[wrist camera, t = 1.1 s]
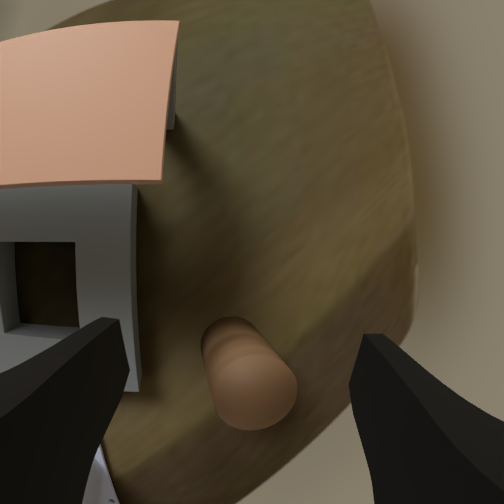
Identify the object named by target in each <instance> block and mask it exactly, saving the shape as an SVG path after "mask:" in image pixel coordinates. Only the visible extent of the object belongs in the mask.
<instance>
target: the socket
mask: <svg viewBox="0 0 504 504" xmlns="http://www.w3.org/2000/svg"><path fill="white" fill-rule="evenodd" d="M137 196H138V188H137V187H136V186H135V185H134V184H101V185H63V186H40V187H23V188H8V189H0V373H2V372H4V371H6V370H9V369H11V368H13V367H15V366H17V365H19V364H21V363H23V362H25V361H26V360H28V359H30V358H32V357H33V356H35V355H37V354H39V353H41V352H42V351H44V350H46V349H48V348H50V347H51V346H53V345H54V344H56V343H58V342H59V341H61V340H63V339H64V338H66V337H68V336H69V335H71V334H73V333H74V332H76V331H77V330H79V329H81V328H82V327H84V326H86V325H87V324H89V323H91V322H93V321H94V320H96V319H98V318H100V317H108V318H115V319H119V320H120V325H121V330H122V335H123V340H124V345H125V350H126V354H127V359H128V363H129V368H130V372H129V376H128V379H127V382H126V386H125V389H124V391H127V392H139V388H140V383H141V378H142V367H141V356H140V344H139V330H138V312H137V284H136V224H137ZM15 242H75V255H76V285H77V301H78V314H79V324H80V327H66V326H52V325H39V324H28V323H20V316H19V308H18V298H17V286H16V271H15Z"/></svg>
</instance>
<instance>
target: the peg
mask: <svg viewBox="0 0 504 504" xmlns="http://www.w3.org/2000/svg"><path fill="white" fill-rule="evenodd" d="M201 353H202V357H203V361H204V366H205V370H206V374H207V378H208V382H209V386H210V390H211V394H212V398H213V402H214V406H215V409H216V412H217V414H218V415H219V417H220V418H221V419H222V420H223V421H224V422H225V423H227V424H228V425H230V426H232V427H234V428H237V429H241V430H259V429H264V428H267V427H269V426H272V425H274V424H276V423H277V422H279V421H280V420H281V419H283V418H284V417H285V416H286V415H287V414H288V413H289V411H290V410H291V409H292V407H293V405H294V403H295V401H296V398H297V393H298V386H297V381H296V378H295V376H294V374H293V372H292V371H291V370H290V369H289V367H288V366H287V365H286V364H285V363H284V362H283V360H282V359H281V358H280V357H279V356H278V355H277V353H276V352H275V351H274V350H273V349H272V347H271V346H270V345H269V344H268V343H267V341H266V340H265V339H264V338H263V337H262V335H261V334H260V333H259V332H258V331H257V329H256V328H255V327H254V326H253V325H252V324H251V323H250V322H248V321H247V320H244V319H242V318H238V317H226V318H222V319H219V320H217V321H216V322H214V323H212V324H211V325H210V326H209V327H208V328H207V329H206V331H205V332H204V334H203V337H202V340H201Z"/></svg>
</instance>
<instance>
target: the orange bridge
mask: <svg viewBox="0 0 504 504" xmlns="http://www.w3.org/2000/svg"><path fill="white" fill-rule="evenodd" d="M178 31H179V21H124V22H110V23H98V24H89V25H81V26H73V27H67V28H60V29H55V30H49V31H44V32H39V33H34V34H30V35H26V36H21V37H17V38H13V39H9V40H6V41H2V42H0V189H8V188H23V187H40V186H63V185H101V184H162V183H163V166H164V151H165V139H166V130H174V121H175V100H176V68H177V47H178Z"/></svg>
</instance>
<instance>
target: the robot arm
mask: <svg viewBox="0 0 504 504" xmlns="http://www.w3.org/2000/svg"><path fill="white" fill-rule="evenodd" d="M129 372H130V368H129V363H128V359H127V354H126V350H125V345H124V340H123V335H122V330H121V325H120V320H119V319H115V318H108V317H100V318H98V319H96V320H94V321H93V322H91V323H89V324H87V325H86V326H84V327H82V328H81V329H79V330H77V331H76V332H74V333H73V334H71V335H69V336H68V337H66V338H64V339H63V340H61V341H59V342H58V343H56V344H54V345H53V346H51V347H50V348H48V349H46V350H44V351H42V352H41V353H39V354H37V355H35V356H33V357H32V358H30V359H28V360H26V361H25V362H23V363H21V364H19V365H17V366H15V367H13V368H11V369H9V370H6V371H4V372H2V373H0V504H119V501H118V498H117V495H116V493H115V490H114V487H113V484H112V481H111V478H110V475H109V471H108V468H107V465H106V462H105V458H104V455H103V451H102V447H101V444H100V443H101V441H102V439H103V437H104V434H105V432H106V430H107V428H108V426H109V424H110V421H111V419H112V417H113V415H114V413H115V411H116V408H117V406H118V404H119V402H120V400H121V398H122V395H123V392H124V389H125V386H126V382H127V379H128V376H129ZM349 390H350V397H351V403H352V409H353V414H354V418H355V421H356V425H357V428H358V432H359V435H360V439H361V442H362V446H363V449H364V453H365V456H366V460H367V463H368V467H369V471H370V476H371V480H372V486H373V494H374V503H375V504H504V422H503V421H501V420H499V419H497V418H495V417H493V416H491V415H490V414H488V413H486V412H484V411H483V410H481V409H480V408H478V407H476V406H475V405H473V404H471V403H470V402H468V401H467V400H465V399H464V398H462V397H461V396H459V395H458V394H456V393H455V392H454V391H452V390H451V389H450V388H448V387H447V386H446V385H444V384H443V383H442V382H440V381H439V380H438V379H437V378H435V377H434V376H433V375H432V374H430V373H429V372H428V371H427V370H426V369H424V368H423V367H422V366H421V365H420V364H418V363H417V362H416V361H415V360H414V359H412V358H411V357H410V356H409V355H408V354H407V353H405V352H404V351H403V350H402V349H401V348H400V347H398V346H397V345H396V344H395V343H394V342H392V341H391V340H390V339H389V338H387V337H386V336H385V335H383V334H363V338H362V342H361V345H360V349H359V352H358V356H357V359H356V362H355V366H354V369H353V372H352V375H351V379H350V382H349ZM112 499H113V500H112Z"/></svg>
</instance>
